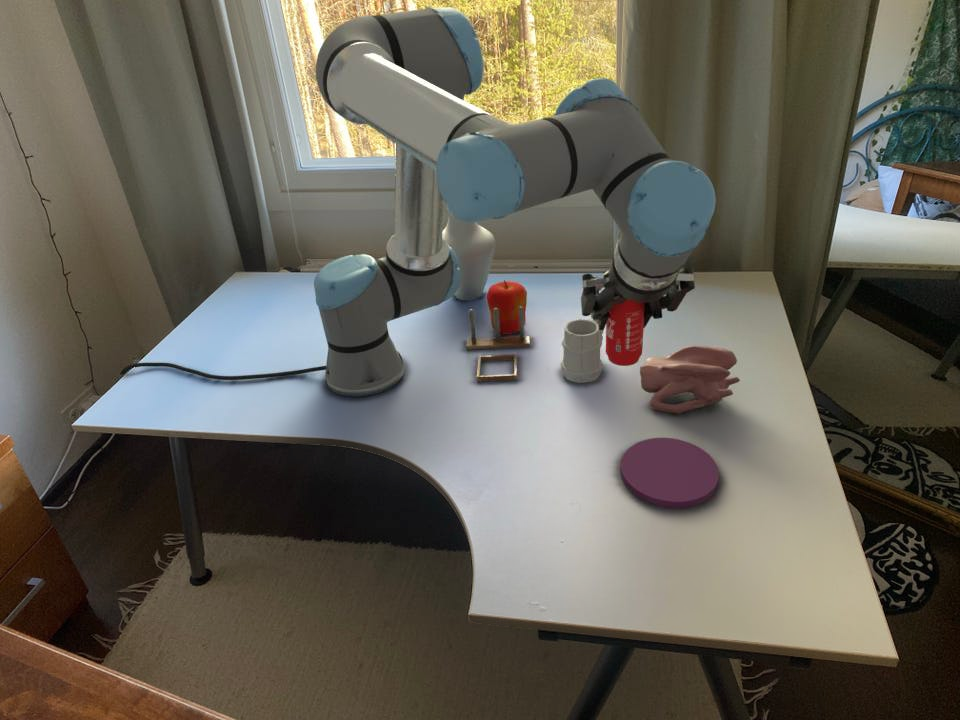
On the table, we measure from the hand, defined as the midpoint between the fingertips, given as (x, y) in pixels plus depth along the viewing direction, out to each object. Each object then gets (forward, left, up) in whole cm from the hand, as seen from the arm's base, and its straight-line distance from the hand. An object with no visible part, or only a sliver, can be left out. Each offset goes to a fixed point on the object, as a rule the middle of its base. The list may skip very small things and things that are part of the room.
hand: (620, 320), depth 92 cm
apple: (-30, +25, -21) cm, 45 cm away
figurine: (+9, +12, -21) cm, 26 cm away
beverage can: (+1, -3, -4) cm, 6 cm away
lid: (+10, -8, -21) cm, 24 cm away
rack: (-27, +14, -21) cm, 37 cm away
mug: (-10, +16, -21) cm, 28 cm away
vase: (-46, +38, -21) cm, 63 cm away
